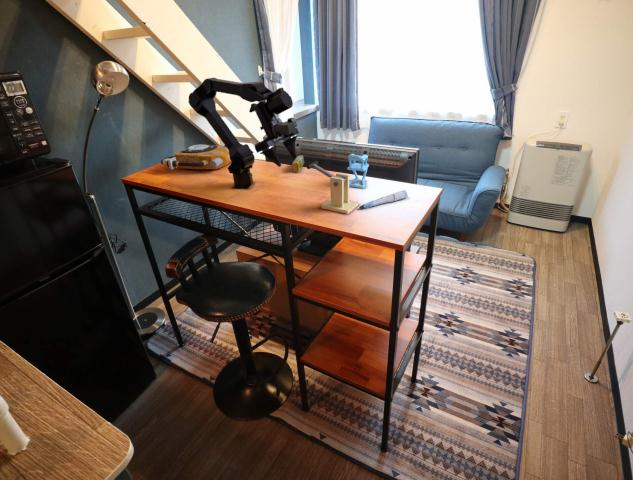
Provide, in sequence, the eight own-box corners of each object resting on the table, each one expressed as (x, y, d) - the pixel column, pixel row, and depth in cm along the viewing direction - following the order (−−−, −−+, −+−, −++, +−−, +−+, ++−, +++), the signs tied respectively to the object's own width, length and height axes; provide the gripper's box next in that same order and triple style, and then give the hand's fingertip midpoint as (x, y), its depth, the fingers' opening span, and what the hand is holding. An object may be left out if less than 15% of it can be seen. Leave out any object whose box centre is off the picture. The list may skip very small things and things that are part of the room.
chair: (370, 181, 136) (371, 150, 130) (364, 188, 129) (365, 157, 123) (351, 178, 139) (352, 149, 133) (344, 186, 132) (344, 155, 126)
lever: (305, 169, 113) (307, 163, 112) (314, 164, 117) (316, 158, 116) (338, 189, 110) (340, 183, 109) (346, 183, 114) (348, 177, 113)
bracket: (321, 208, 116) (320, 177, 110) (332, 199, 122) (332, 170, 116) (347, 214, 111) (348, 182, 106) (358, 204, 117) (359, 174, 111)
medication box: (299, 164, 158) (297, 155, 156) (304, 163, 157) (303, 155, 155) (293, 172, 148) (291, 163, 146) (299, 171, 147) (297, 162, 145)
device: (215, 157, 143) (153, 154, 149) (219, 176, 147) (158, 173, 154) (239, 143, 161) (183, 141, 168) (241, 160, 166) (187, 158, 172)
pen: (402, 195, 122) (403, 188, 121) (408, 198, 120) (409, 191, 118) (356, 208, 115) (356, 200, 113) (362, 211, 112) (362, 203, 111)
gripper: (266, 117, 106) (288, 164, 110) (300, 105, 119) (318, 147, 124) (244, 129, 113) (265, 173, 118) (278, 116, 126) (296, 156, 131)
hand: (287, 162), depth 122 cm, fingers open, 9 cm apart
